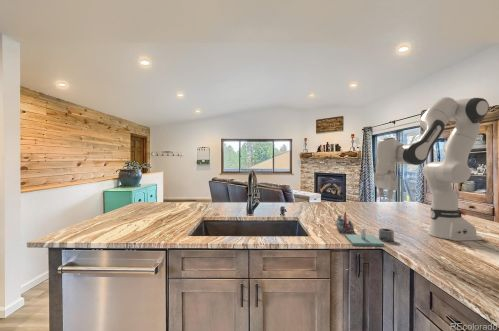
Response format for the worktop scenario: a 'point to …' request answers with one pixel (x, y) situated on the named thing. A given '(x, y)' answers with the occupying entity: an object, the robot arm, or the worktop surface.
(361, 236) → the shaft block
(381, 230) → the hub
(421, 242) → the worktop surface
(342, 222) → the grey red spired figurine
